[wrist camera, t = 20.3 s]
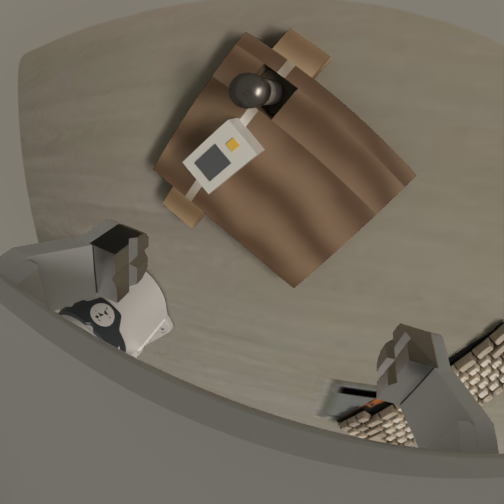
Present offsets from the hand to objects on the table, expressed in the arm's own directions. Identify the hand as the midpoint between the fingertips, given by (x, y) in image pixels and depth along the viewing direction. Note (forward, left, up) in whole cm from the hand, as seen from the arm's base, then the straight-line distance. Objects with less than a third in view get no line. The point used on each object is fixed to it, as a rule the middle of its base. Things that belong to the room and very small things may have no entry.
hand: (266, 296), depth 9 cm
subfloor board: (-5, +3, -27) cm, 28 cm away
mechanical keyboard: (-14, -44, -28) cm, 54 cm away
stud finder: (-7, +8, -25) cm, 27 cm away
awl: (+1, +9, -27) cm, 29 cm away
